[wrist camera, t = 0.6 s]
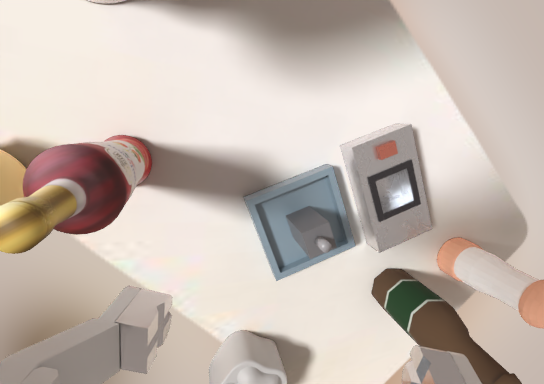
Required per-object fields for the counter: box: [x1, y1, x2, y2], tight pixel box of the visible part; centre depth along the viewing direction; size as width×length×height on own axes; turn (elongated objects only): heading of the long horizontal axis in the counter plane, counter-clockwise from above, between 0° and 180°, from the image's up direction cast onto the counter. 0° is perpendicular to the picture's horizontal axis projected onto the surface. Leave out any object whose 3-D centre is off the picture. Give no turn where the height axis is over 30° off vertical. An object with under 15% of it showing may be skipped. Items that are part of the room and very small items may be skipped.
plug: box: [286, 206, 337, 259], centre depth 45 cm, size 4×4×10 cm
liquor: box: [0, 135, 152, 254], centre depth 30 cm, size 7×7×28 cm
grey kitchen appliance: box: [340, 124, 432, 253], centre depth 51 cm, size 18×10×5 cm, turn 19°
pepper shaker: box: [437, 237, 544, 328], centre depth 51 cm, size 7×7×19 cm
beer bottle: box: [372, 269, 522, 384], centre depth 47 cm, size 8×8×24 cm
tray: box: [243, 164, 355, 281], centre depth 50 cm, size 14×14×2 cm
